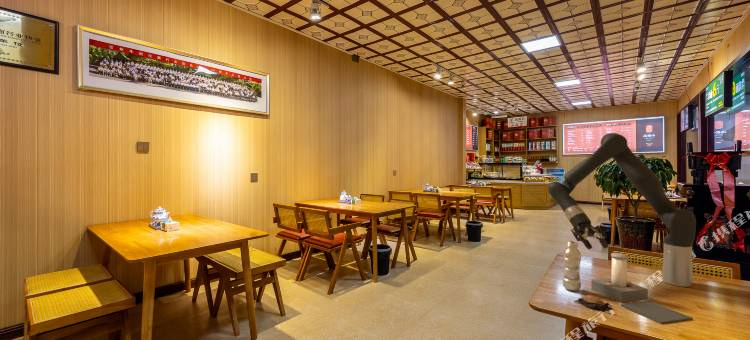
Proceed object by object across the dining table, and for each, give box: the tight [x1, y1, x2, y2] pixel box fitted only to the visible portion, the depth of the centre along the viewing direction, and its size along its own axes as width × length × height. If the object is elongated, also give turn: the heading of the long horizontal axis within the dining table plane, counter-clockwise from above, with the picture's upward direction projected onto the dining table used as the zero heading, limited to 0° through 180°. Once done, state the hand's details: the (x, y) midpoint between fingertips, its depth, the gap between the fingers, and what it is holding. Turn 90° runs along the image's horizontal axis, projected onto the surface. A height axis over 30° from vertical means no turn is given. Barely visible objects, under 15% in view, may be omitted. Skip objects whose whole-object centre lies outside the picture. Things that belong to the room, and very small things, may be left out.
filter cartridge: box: [610, 252, 629, 288], centre depth 133 cm, size 6×6×16 cm
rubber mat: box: [619, 300, 693, 325], centre depth 117 cm, size 14×14×1 cm
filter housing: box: [590, 277, 649, 303], centre depth 133 cm, size 13×13×5 cm
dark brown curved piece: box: [573, 294, 613, 313], centre depth 123 cm, size 11×8×4 cm
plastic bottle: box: [562, 240, 582, 292], centre depth 137 cm, size 6×7×20 cm
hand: (598, 248), depth 142 cm, fingers open, 8 cm apart
